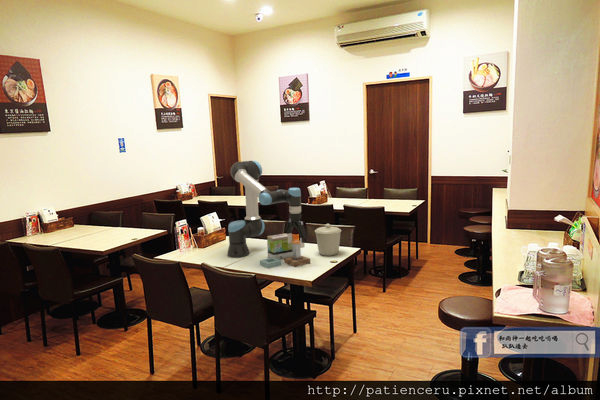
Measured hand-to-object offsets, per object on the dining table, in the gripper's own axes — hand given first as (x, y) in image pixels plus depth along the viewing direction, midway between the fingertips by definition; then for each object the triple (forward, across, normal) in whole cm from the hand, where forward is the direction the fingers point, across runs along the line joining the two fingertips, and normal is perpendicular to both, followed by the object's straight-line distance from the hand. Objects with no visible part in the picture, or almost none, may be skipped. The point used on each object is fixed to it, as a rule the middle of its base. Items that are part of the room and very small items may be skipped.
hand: (296, 245), depth 255 cm
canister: (+12, -1, +28) cm, 30 cm away
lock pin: (+11, 0, 0) cm, 12 cm away
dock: (+11, +1, 0) cm, 12 cm away
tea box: (+12, -18, 0) cm, 22 cm away
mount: (+12, -7, -15) cm, 20 cm away
